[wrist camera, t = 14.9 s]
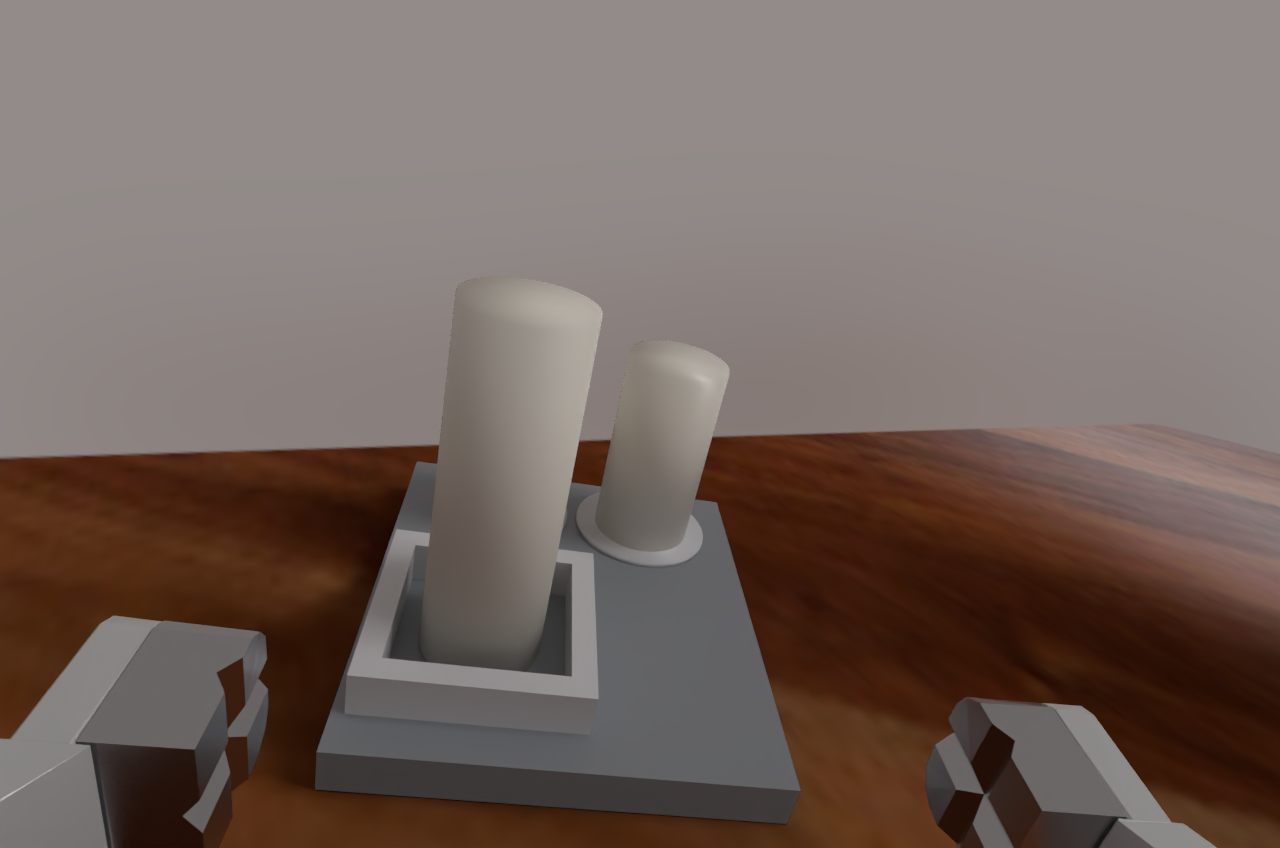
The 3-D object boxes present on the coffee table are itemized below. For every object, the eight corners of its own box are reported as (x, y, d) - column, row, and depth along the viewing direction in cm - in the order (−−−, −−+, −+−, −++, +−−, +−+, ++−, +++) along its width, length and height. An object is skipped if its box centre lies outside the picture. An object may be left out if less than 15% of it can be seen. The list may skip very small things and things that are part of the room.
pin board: (709, 528, 39) (761, 348, 35) (786, 823, 25) (890, 579, 21) (414, 489, 37) (433, 292, 33) (315, 789, 23) (325, 508, 19)
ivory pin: (541, 607, 29) (599, 291, 24) (538, 689, 26) (606, 337, 20) (428, 596, 28) (464, 268, 23) (409, 678, 25) (446, 312, 20)
